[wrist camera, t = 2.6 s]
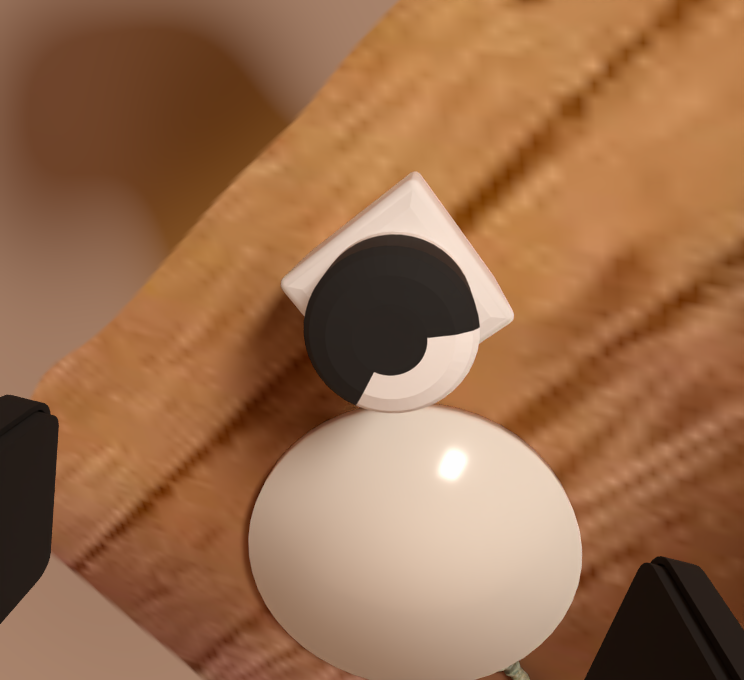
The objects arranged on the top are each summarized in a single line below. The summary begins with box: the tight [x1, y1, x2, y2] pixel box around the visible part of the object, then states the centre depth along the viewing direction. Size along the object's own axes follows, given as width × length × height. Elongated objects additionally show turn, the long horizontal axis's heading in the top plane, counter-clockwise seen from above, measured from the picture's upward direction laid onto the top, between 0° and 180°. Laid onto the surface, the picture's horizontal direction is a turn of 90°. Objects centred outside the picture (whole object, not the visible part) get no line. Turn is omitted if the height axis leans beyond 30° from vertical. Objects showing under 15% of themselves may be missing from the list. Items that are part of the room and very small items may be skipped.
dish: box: [248, 404, 582, 680], centre depth 35 cm, size 20×20×1 cm
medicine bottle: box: [281, 172, 514, 413], centre depth 25 cm, size 7×7×12 cm
